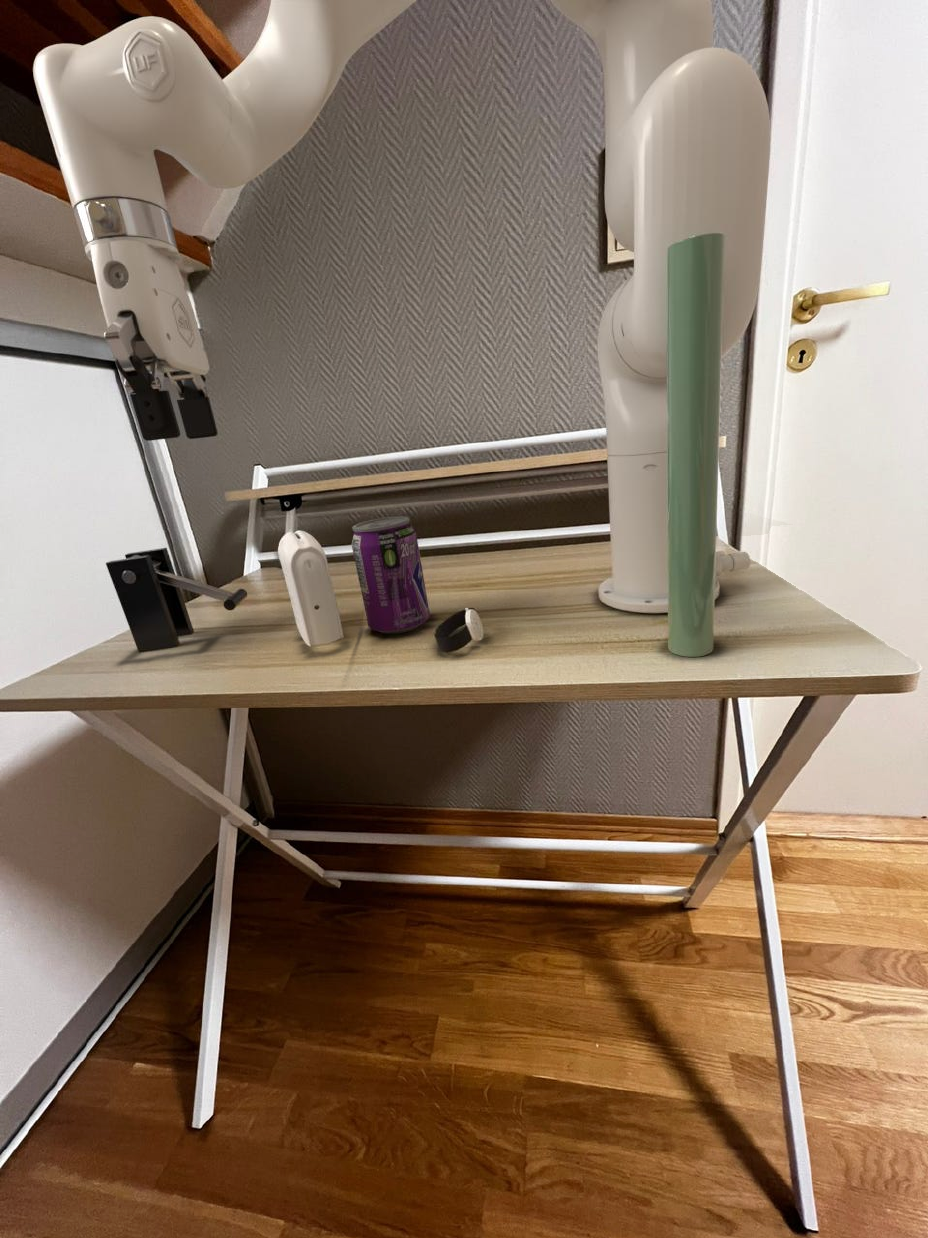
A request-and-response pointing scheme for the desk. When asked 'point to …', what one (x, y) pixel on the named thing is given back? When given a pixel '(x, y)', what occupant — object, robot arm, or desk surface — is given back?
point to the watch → (462, 637)
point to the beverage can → (390, 574)
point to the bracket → (150, 600)
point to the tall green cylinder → (693, 437)
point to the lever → (200, 587)
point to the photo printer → (310, 588)
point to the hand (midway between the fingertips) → (184, 438)
